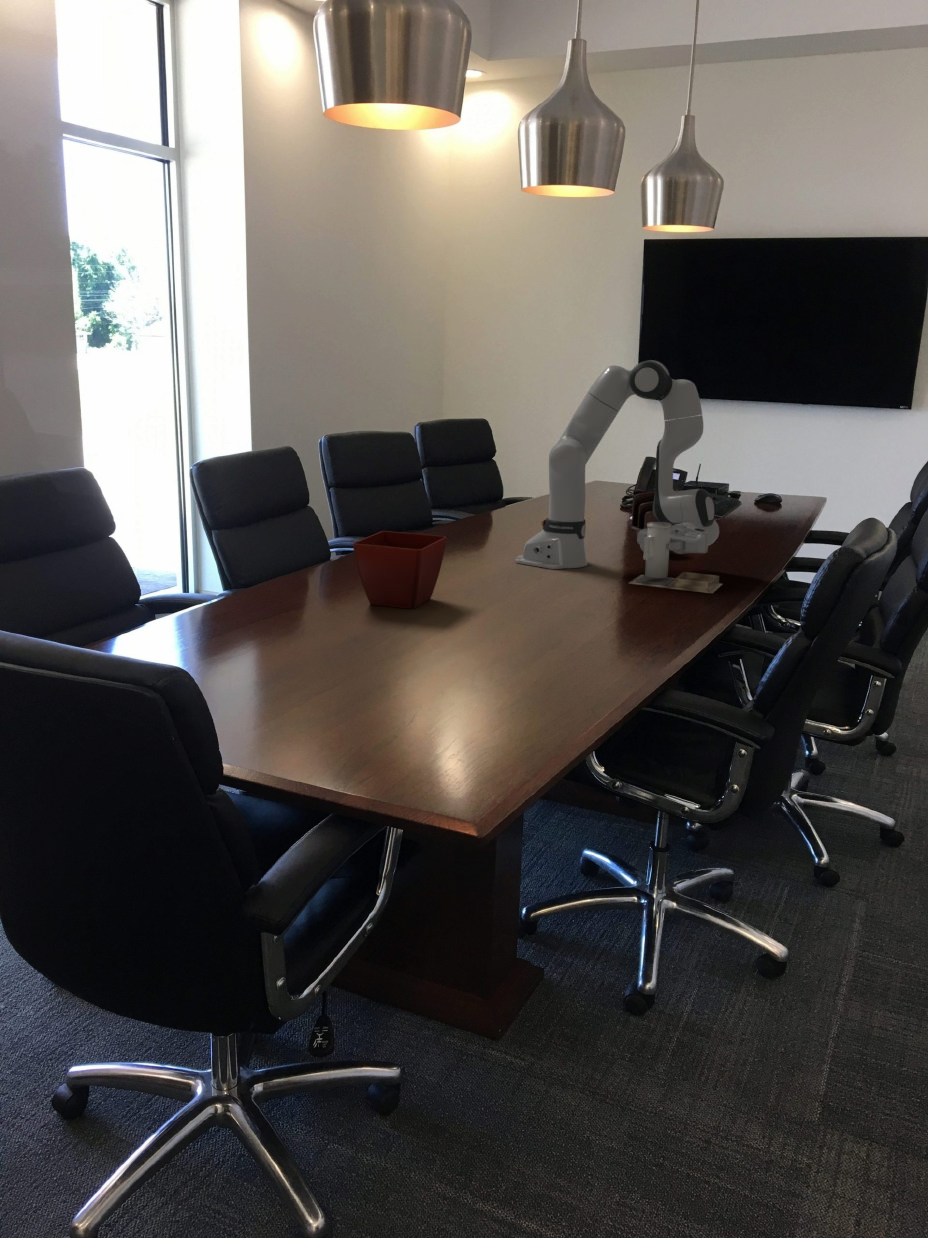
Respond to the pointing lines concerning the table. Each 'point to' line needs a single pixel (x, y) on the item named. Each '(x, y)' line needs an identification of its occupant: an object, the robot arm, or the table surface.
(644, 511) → the letter holder
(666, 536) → the tall white canister
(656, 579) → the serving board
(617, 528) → the table surface
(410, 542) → the plant pot
